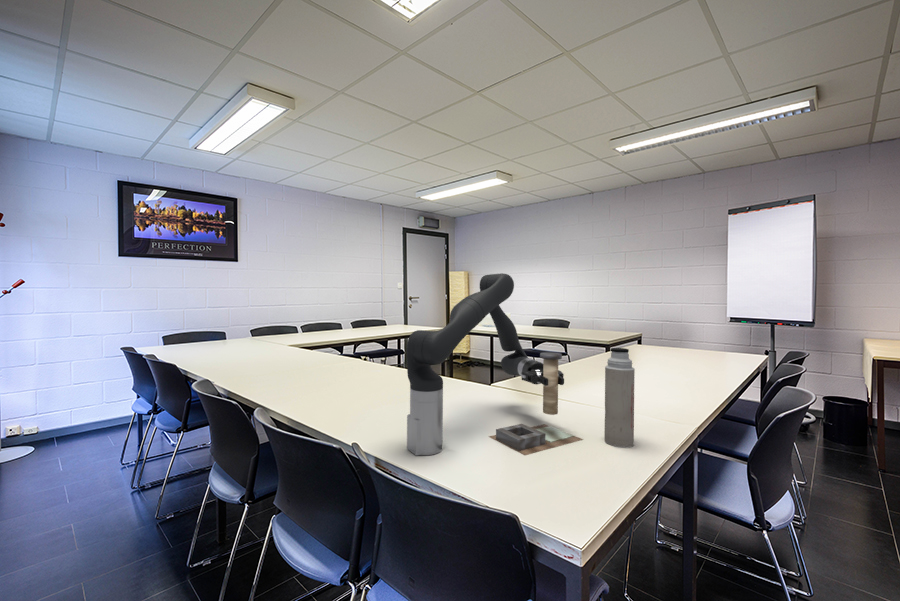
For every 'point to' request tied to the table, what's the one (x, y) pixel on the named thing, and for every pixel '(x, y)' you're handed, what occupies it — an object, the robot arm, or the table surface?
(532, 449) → the board
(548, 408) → the wheel post
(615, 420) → the thermos bottle
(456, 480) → the table surface
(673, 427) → the table surface
